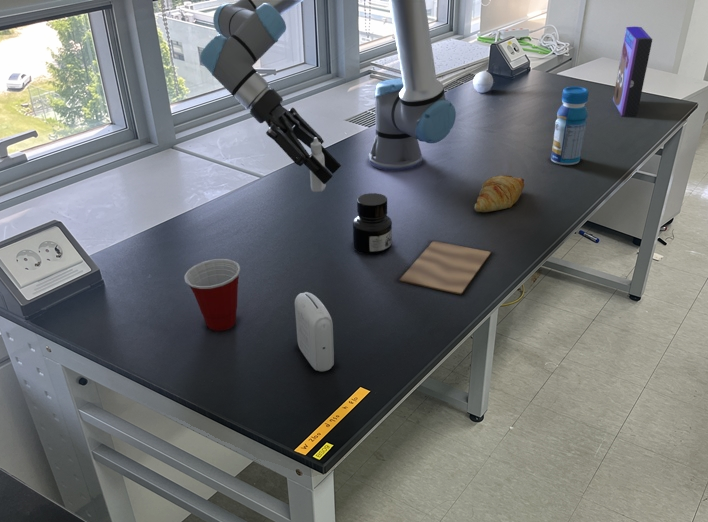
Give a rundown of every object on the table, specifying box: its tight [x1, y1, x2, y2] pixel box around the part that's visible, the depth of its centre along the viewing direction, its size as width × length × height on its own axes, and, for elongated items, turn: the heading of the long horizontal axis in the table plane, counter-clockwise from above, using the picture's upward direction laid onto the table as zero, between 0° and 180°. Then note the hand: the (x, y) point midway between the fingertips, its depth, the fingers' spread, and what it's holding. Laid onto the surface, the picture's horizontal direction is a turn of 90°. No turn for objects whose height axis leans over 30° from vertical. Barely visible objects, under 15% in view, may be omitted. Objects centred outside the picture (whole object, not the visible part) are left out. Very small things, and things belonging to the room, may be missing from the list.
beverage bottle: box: [550, 86, 590, 166], centre depth 203 cm, size 8×8×20 cm
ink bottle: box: [352, 192, 393, 256], centre depth 166 cm, size 10×9×12 cm
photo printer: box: [294, 291, 335, 372], centre depth 131 cm, size 10×4×12 cm, turn 24°
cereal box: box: [612, 26, 653, 118], centre depth 238 cm, size 17×5×24 cm, turn 172°
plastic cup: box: [183, 258, 241, 332], centre depth 141 cm, size 11×11×12 cm
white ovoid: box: [472, 70, 494, 94], centre depth 263 cm, size 10×7×7 cm
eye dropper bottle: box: [309, 137, 327, 193], centre depth 166 cm, size 4×6×12 cm
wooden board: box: [398, 240, 492, 296], centre depth 160 cm, size 20×14×1 cm
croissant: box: [474, 174, 525, 213], centre depth 186 cm, size 21×10×8 cm, turn 139°
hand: (332, 174), depth 167 cm, fingers closed on eye dropper bottle, 6 cm apart
